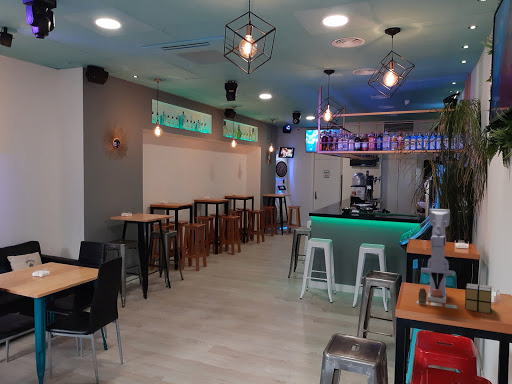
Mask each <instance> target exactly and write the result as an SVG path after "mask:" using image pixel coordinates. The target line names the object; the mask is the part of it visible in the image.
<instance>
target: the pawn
mask: <svg viewBox="0 0 512 384" xmlns="http://www.w3.org/2000/svg"><path fill="white" fill-rule="evenodd" d="M427 298H428V293H427V290H426V288H424V287H421V288H419V291H418V301H419V303H423V304H422V305H426V304H425V303H426V302H427ZM419 303H418V304H419Z"/></svg>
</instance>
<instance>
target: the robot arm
mask: <svg viewBox="0 0 512 384" xmlns="http://www.w3.org/2000/svg"><path fill="white" fill-rule="evenodd" d="M428 213H429V214H428V215H429V217H428V218H429V223H430V226H432V229H431V230H432V231H431V237H430V250H431V252H430V253H431V255H430V256H431V257H430V258H428V260H427V267H421V268H420V273H426V274H428V275H429V289H428V290H429V291H428V293H432V289H441V290H443V295H446V296H447V290H446V284H447V283H446V282H447V281H446V279H447V277H449V276H452V277H455V272H456V271H455V270H449V269H450V265H449V260H447V258H445V255H446V254H445V252H446V251H445V250H446V246H447V245H446V244H447V237H446V228H447V227H449V225H450V220H451V219H450V217H451V211H450V209H449V208H447V209H443V208H429V212H428Z"/></svg>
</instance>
